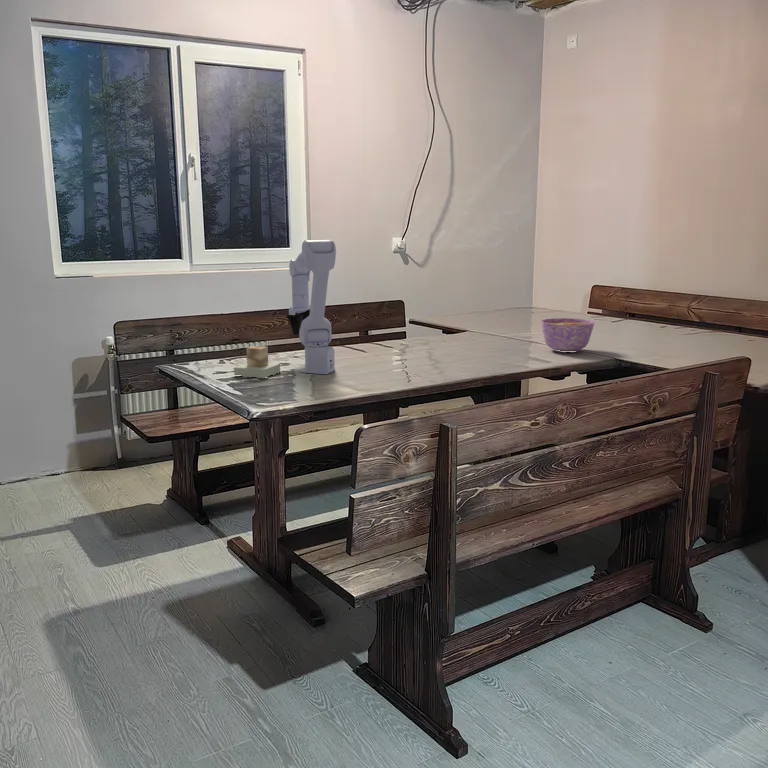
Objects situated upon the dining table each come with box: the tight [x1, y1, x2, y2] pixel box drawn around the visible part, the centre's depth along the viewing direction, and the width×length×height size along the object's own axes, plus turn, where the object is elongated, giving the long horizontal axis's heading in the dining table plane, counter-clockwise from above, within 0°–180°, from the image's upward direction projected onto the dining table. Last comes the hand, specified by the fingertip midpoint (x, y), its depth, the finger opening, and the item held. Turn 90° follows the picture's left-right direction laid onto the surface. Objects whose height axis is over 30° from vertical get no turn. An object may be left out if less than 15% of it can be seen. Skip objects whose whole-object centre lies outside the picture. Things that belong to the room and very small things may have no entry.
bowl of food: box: [540, 317, 595, 352], centre depth 295 cm, size 20×20×12 cm
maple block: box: [246, 345, 269, 367], centre depth 251 cm, size 5×5×6 cm
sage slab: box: [233, 362, 281, 378], centre depth 252 cm, size 11×11×3 cm
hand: (301, 333), depth 272 cm, fingers open, 7 cm apart
